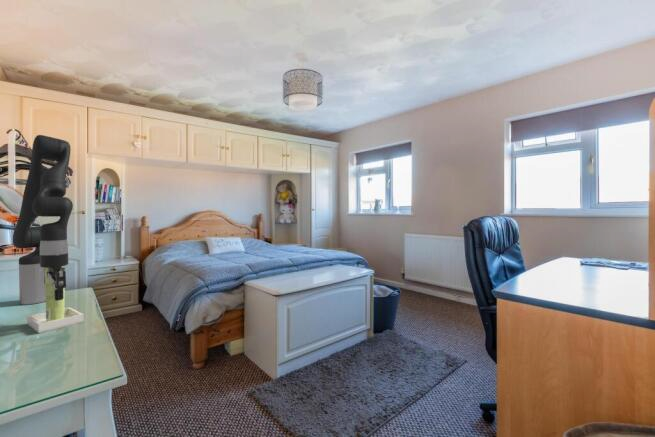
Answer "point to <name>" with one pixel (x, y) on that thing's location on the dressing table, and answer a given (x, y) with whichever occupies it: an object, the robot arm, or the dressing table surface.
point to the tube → (53, 301)
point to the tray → (42, 326)
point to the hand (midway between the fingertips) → (55, 297)
